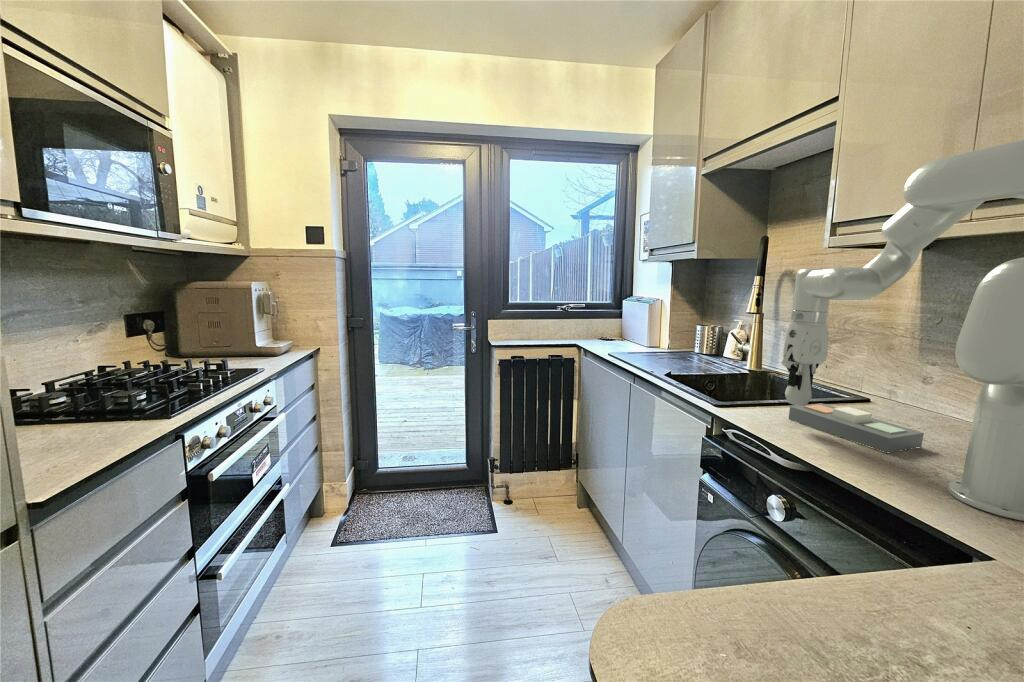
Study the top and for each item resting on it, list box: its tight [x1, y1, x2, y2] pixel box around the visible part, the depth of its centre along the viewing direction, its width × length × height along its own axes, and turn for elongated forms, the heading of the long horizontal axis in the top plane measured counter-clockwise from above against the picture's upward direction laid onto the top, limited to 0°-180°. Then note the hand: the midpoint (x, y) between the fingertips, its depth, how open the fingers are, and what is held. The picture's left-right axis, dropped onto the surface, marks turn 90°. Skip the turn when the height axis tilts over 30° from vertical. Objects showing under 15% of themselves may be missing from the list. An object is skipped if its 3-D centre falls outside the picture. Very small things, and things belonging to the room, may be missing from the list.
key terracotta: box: [804, 405, 833, 414], centre depth 116 cm, size 6×6×4 cm
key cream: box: [832, 406, 873, 424], centre depth 109 cm, size 6×6×4 cm
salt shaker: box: [784, 360, 812, 406], centre depth 110 cm, size 6×6×13 cm
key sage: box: [864, 422, 906, 435], centre depth 102 cm, size 6×6×4 cm
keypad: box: [788, 402, 925, 454], centre depth 109 cm, size 24×12×4 cm, turn 18°
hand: (799, 387), depth 110 cm, fingers closed on salt shaker, 3 cm apart
